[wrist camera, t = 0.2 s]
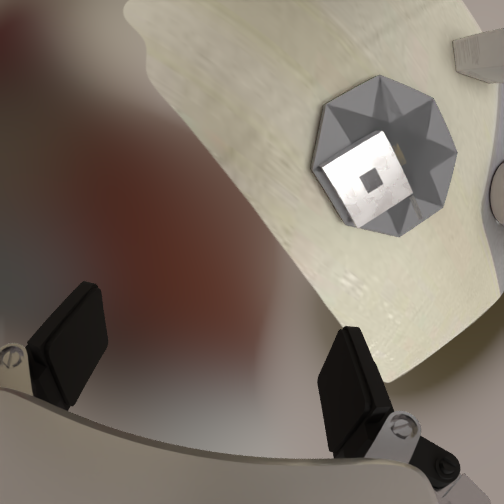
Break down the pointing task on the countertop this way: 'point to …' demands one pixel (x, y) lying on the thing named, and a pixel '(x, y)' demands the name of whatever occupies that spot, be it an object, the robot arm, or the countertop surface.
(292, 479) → the robot arm
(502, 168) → the cylinder vase
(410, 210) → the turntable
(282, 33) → the countertop surface
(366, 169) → the cover
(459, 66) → the skincare box
